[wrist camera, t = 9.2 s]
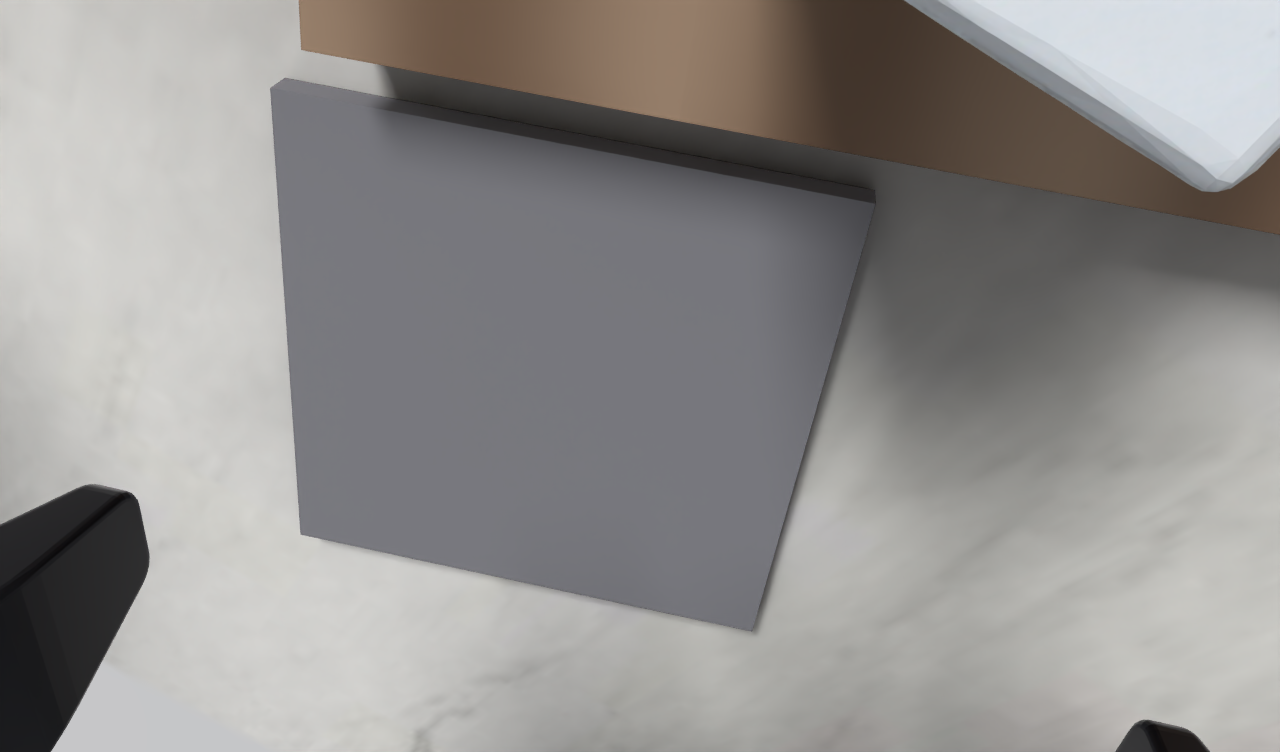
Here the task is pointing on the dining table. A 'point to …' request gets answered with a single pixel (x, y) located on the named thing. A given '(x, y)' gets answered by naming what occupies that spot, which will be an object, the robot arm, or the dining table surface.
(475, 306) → the coaster
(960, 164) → the holder block
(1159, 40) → the skincare box
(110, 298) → the dining table surface
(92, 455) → the dining table surface
